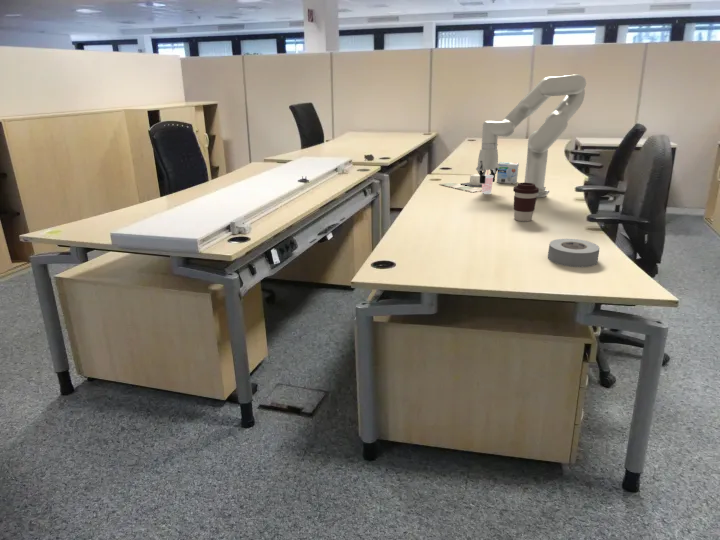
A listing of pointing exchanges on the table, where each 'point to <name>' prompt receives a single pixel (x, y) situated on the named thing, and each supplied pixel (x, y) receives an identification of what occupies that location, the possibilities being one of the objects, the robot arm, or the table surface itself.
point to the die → (475, 179)
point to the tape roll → (573, 252)
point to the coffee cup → (524, 201)
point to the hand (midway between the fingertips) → (487, 182)
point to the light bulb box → (507, 172)
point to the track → (461, 187)
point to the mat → (471, 185)
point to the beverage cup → (487, 184)
